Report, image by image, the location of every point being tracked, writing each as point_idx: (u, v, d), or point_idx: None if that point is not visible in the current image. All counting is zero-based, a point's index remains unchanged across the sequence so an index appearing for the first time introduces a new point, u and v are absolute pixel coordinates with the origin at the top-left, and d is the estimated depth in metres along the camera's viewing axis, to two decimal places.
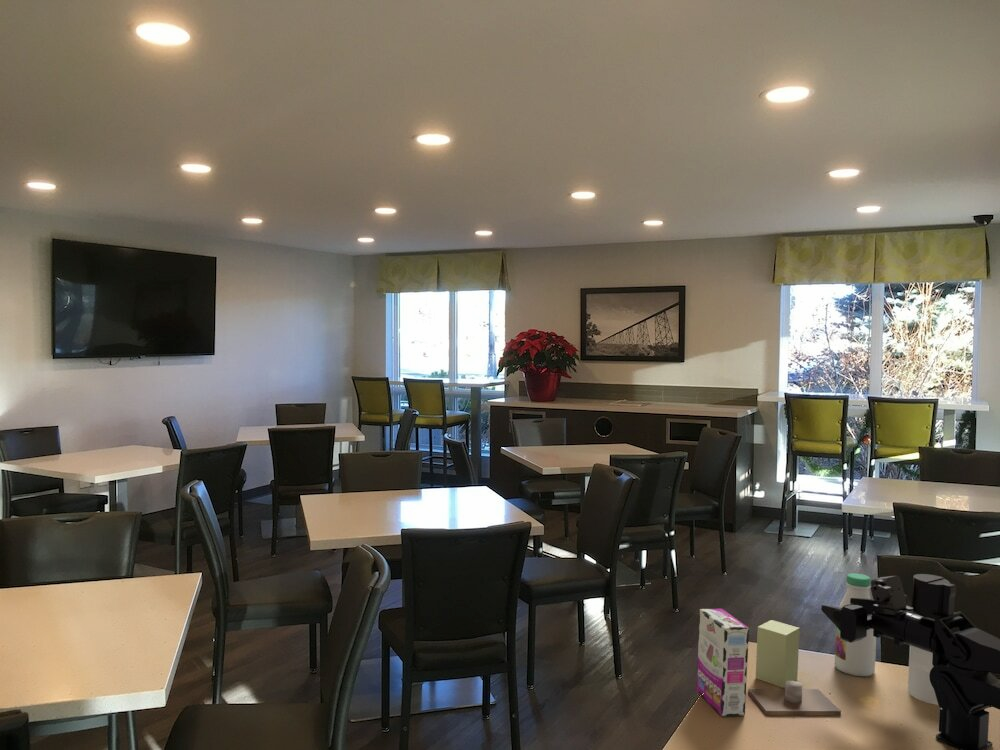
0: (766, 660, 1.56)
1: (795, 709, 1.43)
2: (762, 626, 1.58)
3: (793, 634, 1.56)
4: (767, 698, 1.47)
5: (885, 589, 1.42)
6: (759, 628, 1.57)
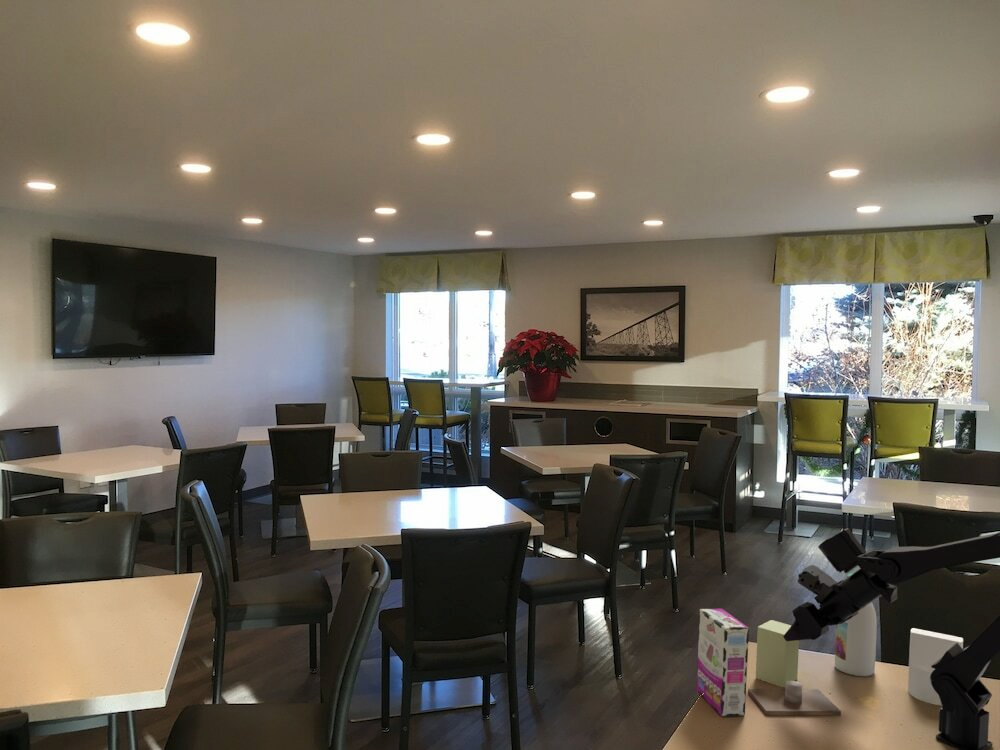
0: (766, 660, 1.56)
1: (795, 709, 1.43)
2: (762, 626, 1.58)
3: None
4: (767, 698, 1.47)
5: (808, 572, 1.49)
6: (759, 628, 1.57)
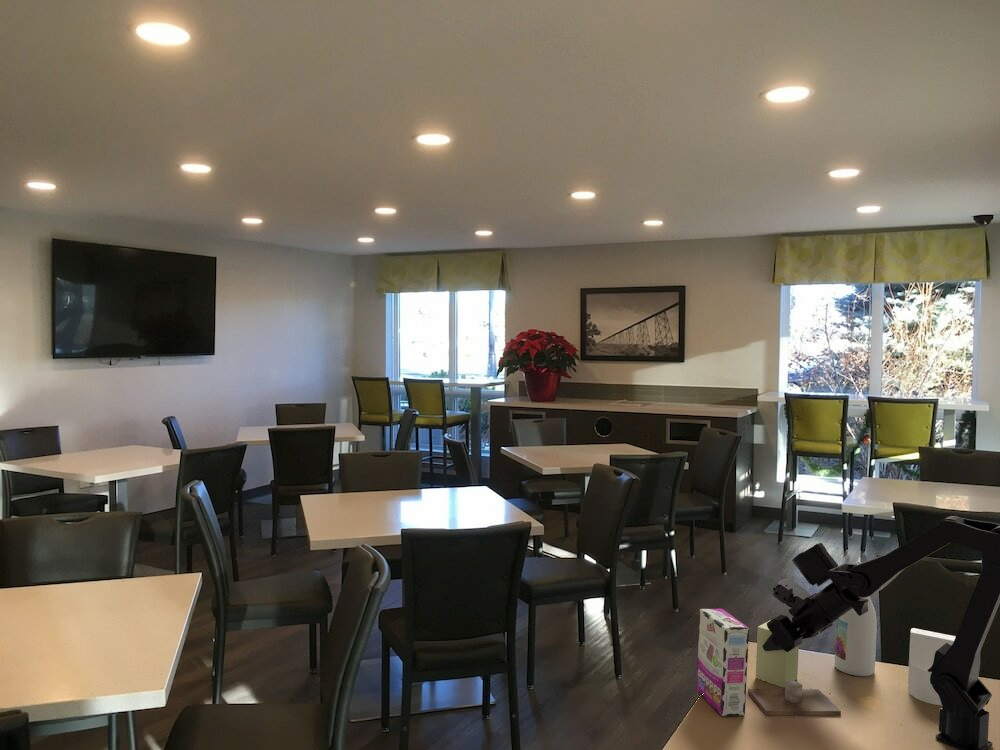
0: (766, 660, 1.56)
1: (795, 709, 1.43)
2: (762, 626, 1.58)
3: None
4: (767, 698, 1.47)
5: (782, 586, 1.53)
6: (759, 628, 1.57)
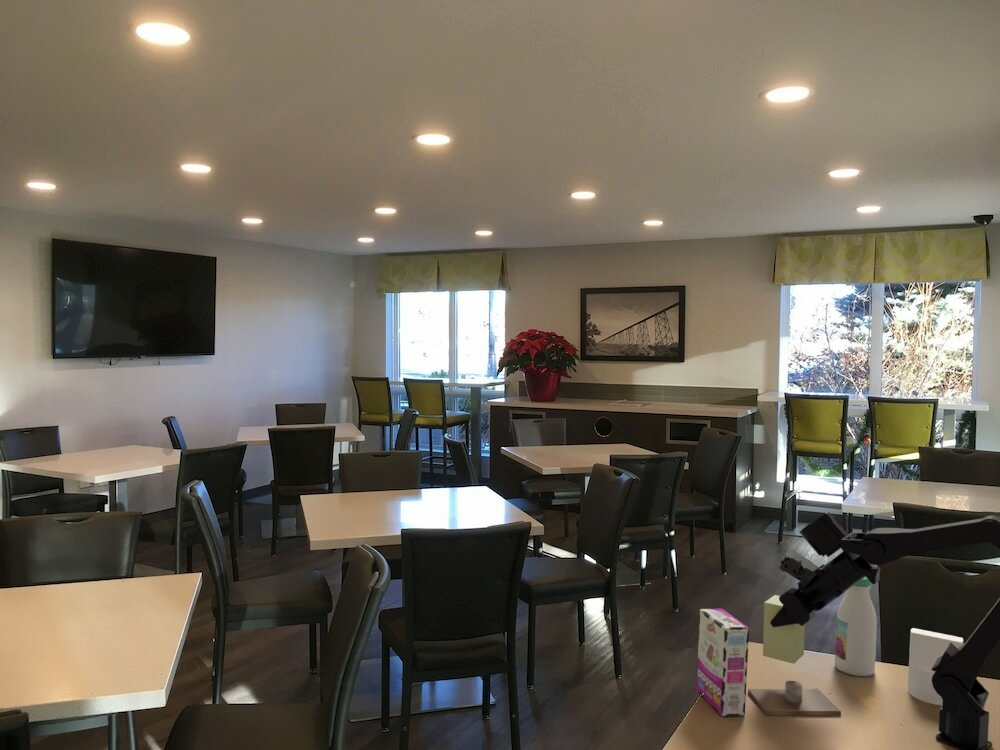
0: (774, 636, 1.51)
1: (795, 709, 1.43)
2: (768, 602, 1.52)
3: None
4: (767, 698, 1.47)
5: (792, 558, 1.48)
6: (766, 603, 1.52)
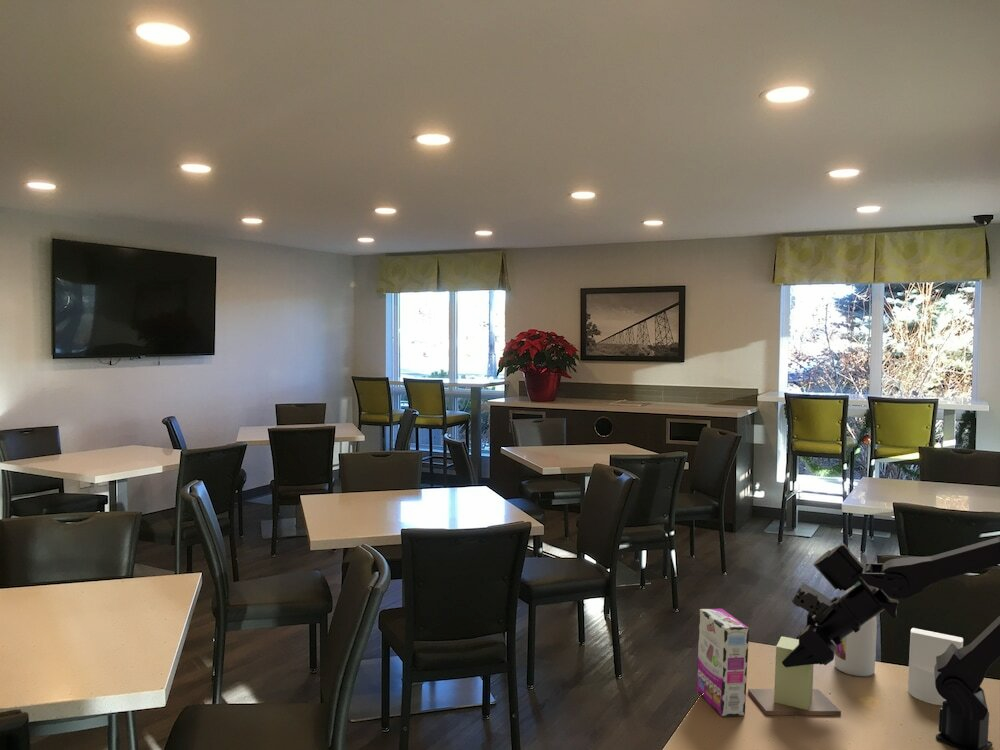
0: (787, 682, 1.45)
1: (795, 709, 1.43)
2: (780, 645, 1.46)
3: None
4: (767, 698, 1.47)
5: (809, 593, 1.41)
6: (778, 648, 1.45)
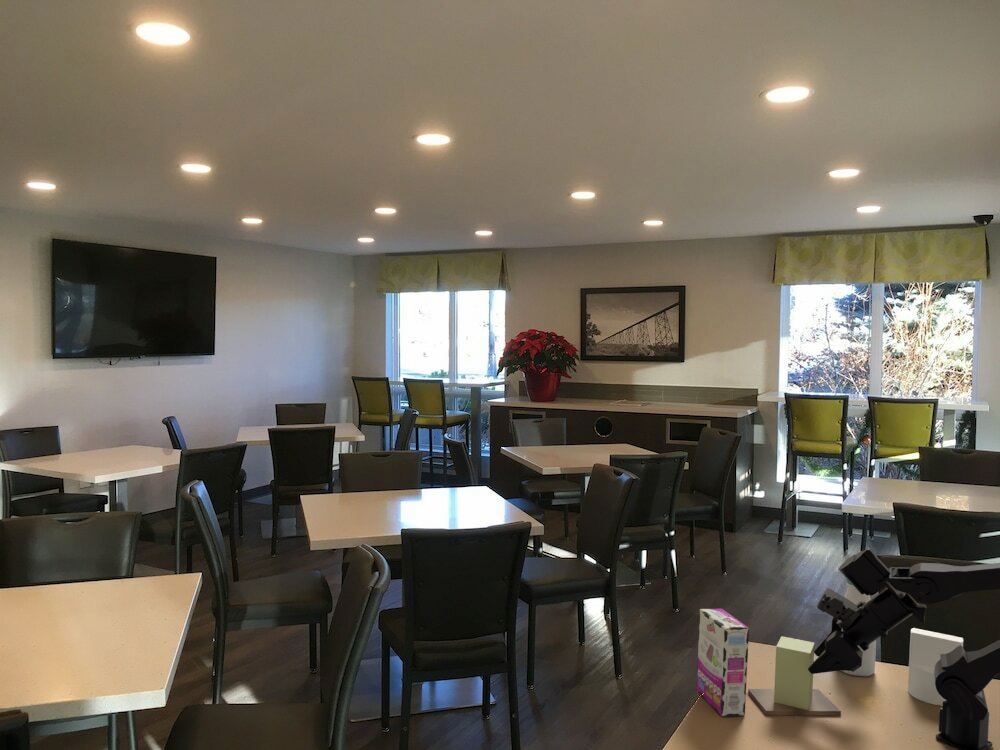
0: (787, 682, 1.45)
1: (795, 709, 1.43)
2: (780, 645, 1.46)
3: (812, 650, 1.45)
4: (767, 698, 1.47)
5: (835, 598, 1.39)
6: (778, 648, 1.45)
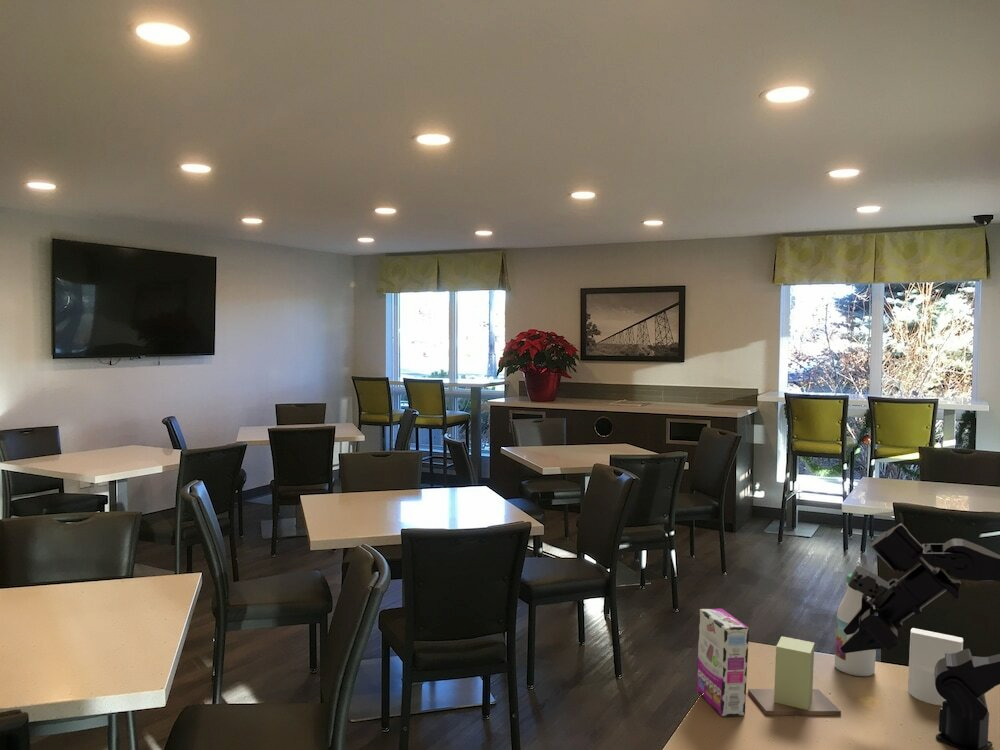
0: (787, 682, 1.45)
1: (795, 709, 1.43)
2: (780, 645, 1.46)
3: (812, 650, 1.45)
4: (767, 698, 1.47)
5: (867, 576, 1.36)
6: (778, 648, 1.45)
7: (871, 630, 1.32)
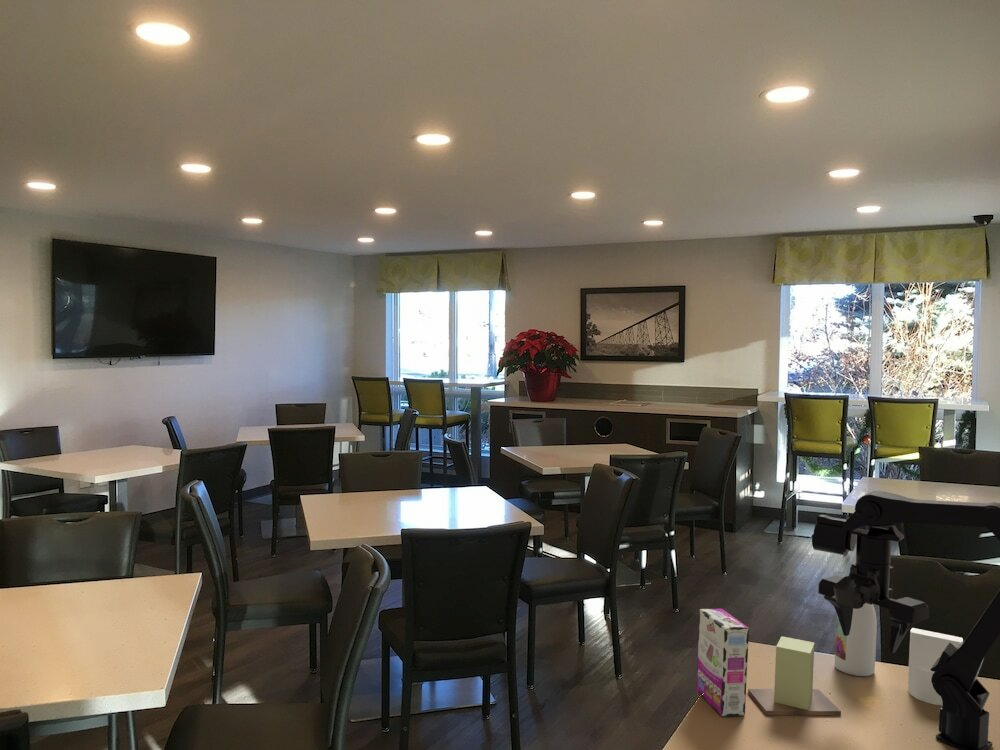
0: (787, 682, 1.45)
1: (795, 709, 1.43)
2: (780, 645, 1.46)
3: (812, 650, 1.45)
4: (767, 698, 1.47)
5: (869, 588, 1.36)
6: (778, 648, 1.45)
7: (917, 619, 1.35)
